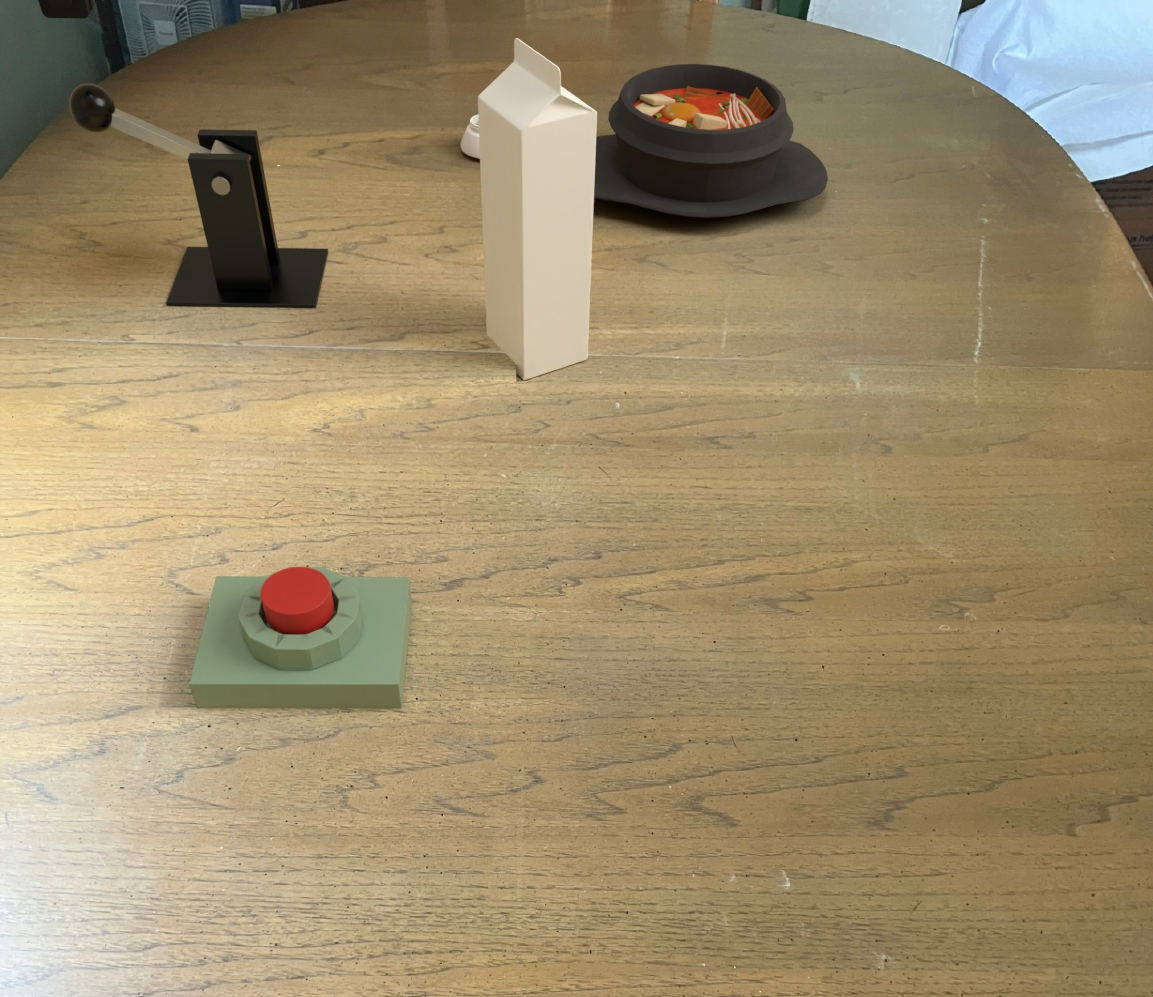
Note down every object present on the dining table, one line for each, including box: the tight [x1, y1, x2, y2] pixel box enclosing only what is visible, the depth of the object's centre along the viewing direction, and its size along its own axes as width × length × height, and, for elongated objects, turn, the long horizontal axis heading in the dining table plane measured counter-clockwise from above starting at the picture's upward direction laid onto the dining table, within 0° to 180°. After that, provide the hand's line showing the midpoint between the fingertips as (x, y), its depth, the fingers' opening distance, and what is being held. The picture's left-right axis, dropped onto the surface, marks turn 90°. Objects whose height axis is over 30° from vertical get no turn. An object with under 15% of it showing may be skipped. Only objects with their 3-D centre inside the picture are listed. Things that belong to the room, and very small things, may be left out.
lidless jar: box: [460, 114, 480, 160], centre depth 113 cm, size 5×3×5 cm
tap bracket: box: [165, 128, 329, 309], centre depth 92 cm, size 12×9×12 cm
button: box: [260, 566, 334, 635], centre depth 67 cm, size 4×4×2 cm
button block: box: [188, 566, 413, 709], centre depth 69 cm, size 12×9×4 cm
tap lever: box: [68, 83, 251, 161], centre depth 87 cm, size 13×3×3 cm, turn 91°
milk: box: [477, 37, 598, 381], centre depth 83 cm, size 6×6×22 cm
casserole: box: [594, 63, 829, 219], centre depth 107 cm, size 25×19×8 cm
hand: (69, 12), depth 81 cm, fingers closed
